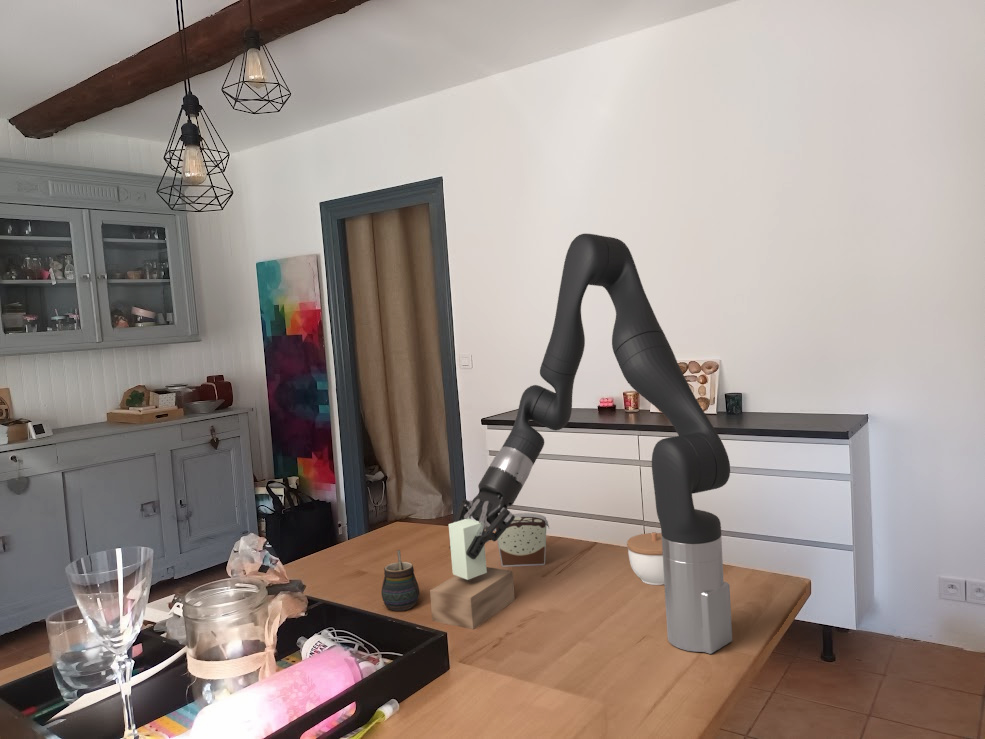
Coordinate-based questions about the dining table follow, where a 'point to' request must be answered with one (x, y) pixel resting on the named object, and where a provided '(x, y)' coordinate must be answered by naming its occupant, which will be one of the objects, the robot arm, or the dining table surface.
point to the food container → (523, 541)
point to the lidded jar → (647, 557)
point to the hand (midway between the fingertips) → (461, 553)
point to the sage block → (465, 549)
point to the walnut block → (472, 598)
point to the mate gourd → (400, 586)
